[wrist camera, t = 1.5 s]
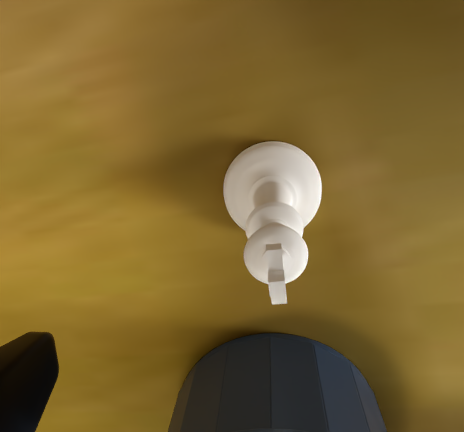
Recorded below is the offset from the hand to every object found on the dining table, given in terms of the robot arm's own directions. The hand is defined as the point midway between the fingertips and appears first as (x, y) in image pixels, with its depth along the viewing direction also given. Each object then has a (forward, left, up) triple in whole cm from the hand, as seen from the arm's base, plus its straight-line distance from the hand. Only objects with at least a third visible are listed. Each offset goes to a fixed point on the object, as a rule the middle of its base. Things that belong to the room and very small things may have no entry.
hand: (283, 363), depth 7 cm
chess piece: (0, 0, -13) cm, 13 cm away
